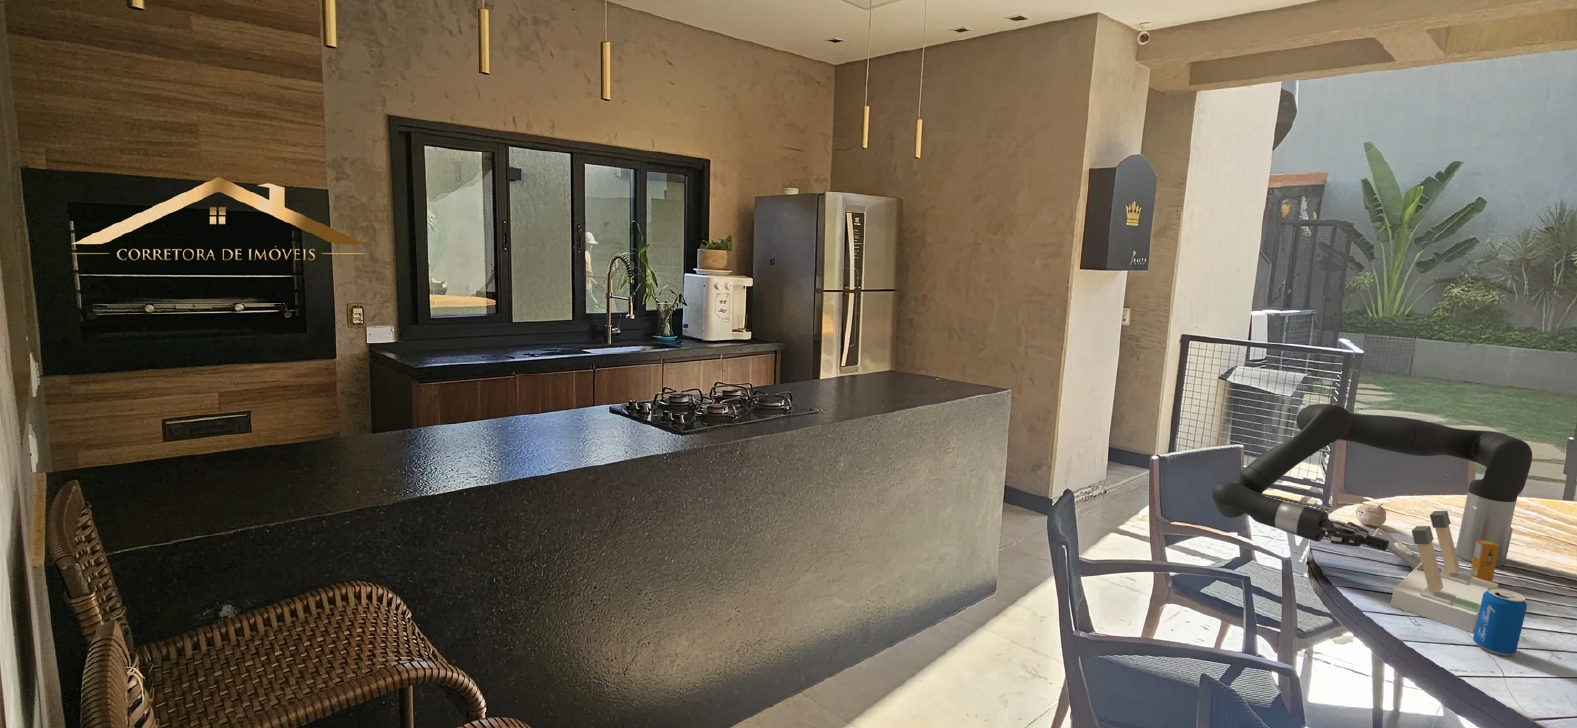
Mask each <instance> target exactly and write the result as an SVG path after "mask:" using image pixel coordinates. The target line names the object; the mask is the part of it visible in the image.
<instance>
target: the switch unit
mask: <svg viewBox="0 0 1577 728" xmlns="http://www.w3.org/2000/svg"><path fill="white" fill-rule="evenodd" d="M1438 568H1439V572H1440V576H1441V580H1442V584H1443V589H1442V590H1441V591H1440V592H1429V589H1428V585H1427V581H1426V577H1425V573H1424V569H1423V565H1422V562H1421V563H1420V564H1419V565H1418V566H1417V567H1416V568H1415V569H1412V570H1411V572H1409V573H1408V574H1407V575H1406V576H1405V577H1404V578H1403V579H1402V580H1401V581H1400V582H1399V583H1398V584H1397V585H1396V586H1395V587H1394V588H1393V590H1392V596H1391V600H1390V601H1391V602H1390V607H1394V608H1397V609H1399V610H1403V611H1405V612H1408V611H1409V612H1408V613H1411V612H1413V613H1412V614H1414V613H1415V615H1417V614H1418V615H1417V616H1420V617H1424V618H1427V619H1430V620H1432V621H1436V622H1439V623H1441V624H1445V625H1448V626H1451V627H1454V628H1457V629H1460V630H1463V631H1465V632H1469V633H1473V632H1475V628H1476V624H1477V619H1478V615H1479V611H1480V606H1481V602H1482V597H1483V594H1484V592H1486V591H1487V589H1488V588H1491V587H1495V588H1499V583H1496V582H1493V581H1492V582H1489V581H1486V580H1482V579H1479V578H1476V577H1472V576H1471V575H1470V574H1467V573H1464V572H1461V571H1458V572H1457V573H1446V569H1445V567H1444V568H1443V567H1440V566H1438Z"/></svg>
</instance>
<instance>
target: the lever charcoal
mask: <svg viewBox="0 0 1577 728" xmlns="http://www.w3.org/2000/svg"><path fill="white" fill-rule="evenodd" d="M1448 511H1449V510H1434V511H1433V512H1431V513H1430V514H1429V517H1430V520H1431V521H1430V522H1431V525H1432V528H1433V529H1435V533H1436V536H1437V540H1438V546H1439V548H1440V553H1441V556H1442V560H1443V565H1444V568H1445V569H1446V573H1457V572H1459V570H1460V569H1461V567H1460V563H1459V560H1458V556H1457V555H1456V548H1455V544H1454V540H1453V537H1452V533H1451V528H1450V525H1451V520H1450V516H1449V512H1448Z"/></svg>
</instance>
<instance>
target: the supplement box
mask: <svg viewBox="0 0 1577 728" xmlns="http://www.w3.org/2000/svg"><path fill="white" fill-rule="evenodd" d="M1498 550H1499V545H1497V544H1496V543H1494V542H1492V541H1487V540H1478V539H1477V540H1476V544H1475V550H1474V556H1473V561H1472V562H1471V568H1470V572H1469V575H1471V576H1472V577H1476V578H1479V579H1482V580H1486V581H1489V582H1493V580H1494V574H1495V571H1496V566H1495V565H1496V560H1497V555H1498Z"/></svg>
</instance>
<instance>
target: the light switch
mask: <svg viewBox="0 0 1577 728" xmlns="http://www.w3.org/2000/svg"><path fill="white" fill-rule="evenodd" d="M1371 536H1374V537H1378V538H1381V539H1385V540H1388V541H1389V546H1388V549H1387V551H1389V552H1390V553H1391V554H1393V555H1394V556H1395V557H1397V558H1398V559H1399V560H1401V561H1402V562H1404V563H1405V564H1407V566H1410V567H1411V568H1412V570H1414V569H1415V568H1416V567H1417V566H1418V565H1419V564H1420V563H1421V562H1422V561H1421V557H1420V555H1418V554H1416V553H1415V552H1414V551H1413V550H1411V549H1409V547H1407V546H1406V545H1404V544H1403V543H1402V542H1400V541H1398V540H1397V539H1395V538H1394V537H1393V536H1391V535H1390V534H1388V533H1387V532H1386V531H1385V530H1383V529H1381V528H1379V527H1378V528H1376V529H1375V531H1374V532H1373V534H1372V535H1371Z"/></svg>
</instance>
